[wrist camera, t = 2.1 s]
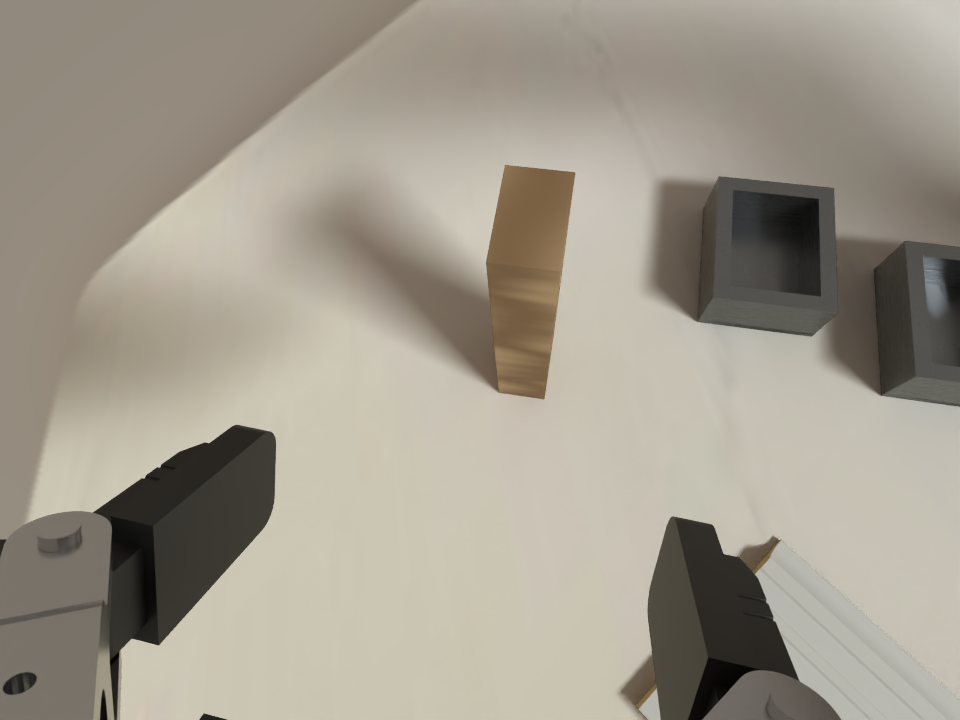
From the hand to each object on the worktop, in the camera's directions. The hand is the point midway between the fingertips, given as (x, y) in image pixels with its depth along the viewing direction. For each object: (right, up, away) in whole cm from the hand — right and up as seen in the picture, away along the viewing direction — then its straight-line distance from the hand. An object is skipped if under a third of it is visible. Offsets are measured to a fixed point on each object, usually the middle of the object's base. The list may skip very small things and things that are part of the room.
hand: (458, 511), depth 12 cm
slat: (+3, +3, +22) cm, 22 cm away
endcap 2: (+25, +4, +21) cm, 33 cm away
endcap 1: (+16, +8, +23) cm, 29 cm away
